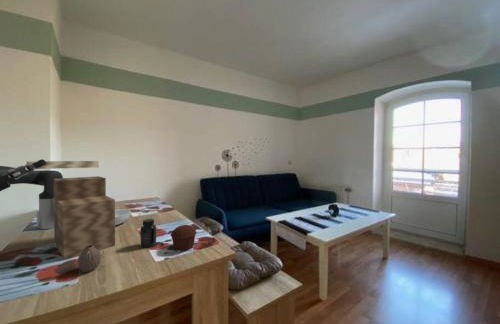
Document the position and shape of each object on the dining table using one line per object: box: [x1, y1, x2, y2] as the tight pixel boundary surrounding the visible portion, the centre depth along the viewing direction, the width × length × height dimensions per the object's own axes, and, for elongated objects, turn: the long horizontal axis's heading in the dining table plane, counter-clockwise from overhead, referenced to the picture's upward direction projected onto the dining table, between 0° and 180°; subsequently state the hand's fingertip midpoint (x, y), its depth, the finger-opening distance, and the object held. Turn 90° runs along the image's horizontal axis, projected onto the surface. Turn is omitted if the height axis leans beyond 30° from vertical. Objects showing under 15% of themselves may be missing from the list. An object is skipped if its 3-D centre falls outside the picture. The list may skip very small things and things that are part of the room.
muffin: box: [170, 224, 198, 252], centre depth 95 cm, size 12×11×10 cm
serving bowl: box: [115, 208, 132, 226], centre depth 125 cm, size 21×21×7 cm
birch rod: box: [26, 160, 100, 170], centre depth 89 cm, size 23×3×3 cm, turn 140°
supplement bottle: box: [139, 218, 157, 248], centre depth 97 cm, size 7×7×12 cm
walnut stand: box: [53, 175, 116, 261], centre depth 97 cm, size 18×26×31 cm
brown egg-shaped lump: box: [76, 245, 102, 273], centre depth 76 cm, size 7×7×9 cm
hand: (44, 161), depth 84 cm, fingers closed on birch rod, 3 cm apart
